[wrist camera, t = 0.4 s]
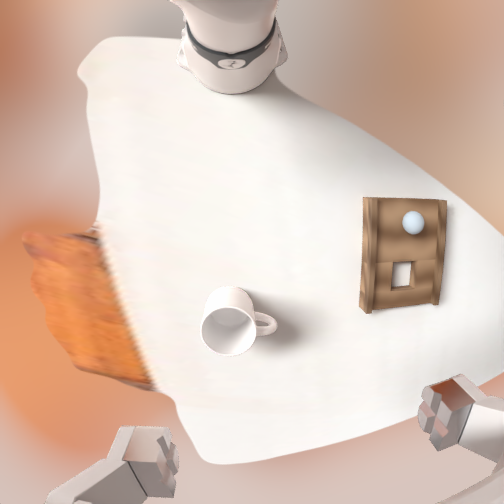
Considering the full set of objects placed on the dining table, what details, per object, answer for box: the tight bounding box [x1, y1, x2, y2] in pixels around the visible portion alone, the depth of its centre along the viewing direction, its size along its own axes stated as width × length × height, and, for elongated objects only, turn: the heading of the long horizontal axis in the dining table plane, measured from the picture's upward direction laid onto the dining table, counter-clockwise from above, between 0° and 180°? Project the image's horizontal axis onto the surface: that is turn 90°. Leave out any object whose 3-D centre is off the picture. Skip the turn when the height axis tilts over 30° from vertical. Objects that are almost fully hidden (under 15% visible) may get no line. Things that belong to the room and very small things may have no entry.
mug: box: [200, 286, 277, 356], centre depth 51 cm, size 12×8×10 cm
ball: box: [402, 211, 424, 234], centre depth 50 cm, size 4×4×4 cm
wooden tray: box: [359, 197, 447, 314], centre depth 53 cm, size 20×16×4 cm
